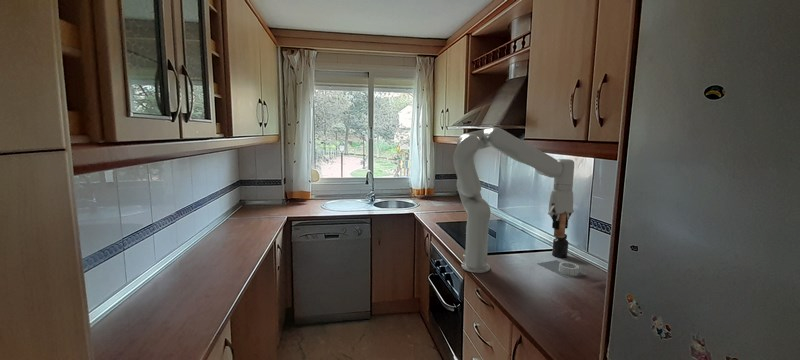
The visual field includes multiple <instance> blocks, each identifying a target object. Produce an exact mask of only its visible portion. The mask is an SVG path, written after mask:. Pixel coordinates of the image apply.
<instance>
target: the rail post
mask: <svg viewBox="0 0 800 360" xmlns="http://www.w3.org/2000/svg"><path fill="white" fill-rule="evenodd" d="M555 216H557V215H555ZM558 221H560V222H559V230H557V229H554V228H553V237H555V238H556V237H558V238H564V237H565V234H566V228H565V225H566V211H565V212H564V213H562V214H560V216H559V220H558Z"/></svg>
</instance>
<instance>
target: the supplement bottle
mask: <svg viewBox="0 0 800 360" xmlns="http://www.w3.org/2000/svg"><path fill="white" fill-rule="evenodd" d="M567 238H568V234H567V233H565V237H564V238H558V237H555V238H554V239H553V241H552V251H551V256H553V257H554V258H557V259H567V258H568V252H569V241H568V240H567Z"/></svg>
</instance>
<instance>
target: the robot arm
mask: <svg viewBox="0 0 800 360" xmlns="http://www.w3.org/2000/svg"><path fill="white" fill-rule="evenodd" d="M486 148H493V149H495V150H497V151H498V152H500V153H502V154H504V155H505V156H507V157H509V158H510V159H512V160H514V161H516V162H519V163H521V164H525V165H527V166H529V167H531V168H533V169H535V172H536V173H538V174H539V175H541V176H544V177H548V178H550V179H551V178H554V179H553V188H552V190H551V193H550V197H549V202H548V213H547V215H549V217H550V218H551V220H552V227H551V228H552V229H553V230H554V229H557V230H559V222H560V221H558V220H559V216H560V214H562V213H564V212H565V211H566V225H565V230H566V229H568V227H569V220H570V217H571V216H572V215H573V213H575V210H574V192H573V189H574V188H573V187H574V176H575V175H574V174H575V161H574V160H573V159H568V158H567V159H566V158H561V159H560V158H558V159H556V158H554V157H553V156H551V155H550V154H547V153H546V152H545V151H544V152H543V150H539V149H538V148H536V147H535V146H532V145H531V144H529V143H526V142H525V141H523V140H522V139H520V138H518V137H516V136H515V135H513V134H512V133H509V132H508V131H506V130H504V129H502V128H500V127H496V126H495V127H494V126H493V127H488V128H483V129H480V130H476V131H475V130H474V131H471V132H466V133H463V134H461V135H460V136H459V137H458V138H457V140H456V148H455V150H454V152H453V153H454V154H453V156H452V157H453V158H452V161H453V163H452V164H453V167H454V170H455V171H454V172H455V174H456V177H457V180H456V189H457V193H458V194H459V198H460V201H461V205H462V206H463V210H464V211H465V212H466V214H467V219H466V226H465V234H466V235H465V253H464V254H463V255H462V258H464V260H463V261H462V263H461V268H462V269H463V270H464V271H467V272H470V273H473V274H474V273H475V274H484V273H487V272H489V271H490V270H491V265H490V264H489V263H487V262H488V246H489V245H488V244H489V242H488V241H489V225H490V220H491V207H490V204H489V203H488V202H487V201H486V200H485V199H484V198H483V197H482V193H481V191H482V183H481V180H480V177H479V175H478V172H477V169H476V166H475V161H474V159H475V158H474V157H475V154H476V153H477V152H478V151H479V150H483V149H486ZM555 215H557V216H555Z"/></svg>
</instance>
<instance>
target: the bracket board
mask: <svg viewBox="0 0 800 360" xmlns="http://www.w3.org/2000/svg"><path fill="white" fill-rule="evenodd" d="M536 265H539V266H541V267H543V268H544V269H547V270H549V271H551V272H552V273H555V274H557V275H559V276H561V277H563V278H566V279H569V278H574V277H579V276H581V277H582V276H584V275H585V276H586V275H587V274H588V273H586V272H585V271H582V270H580V266H579V264H576V263H573V262H570V261H569V262H567V261H562V262H561V261H559V260H549V261H544V262H539V263H536Z"/></svg>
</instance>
